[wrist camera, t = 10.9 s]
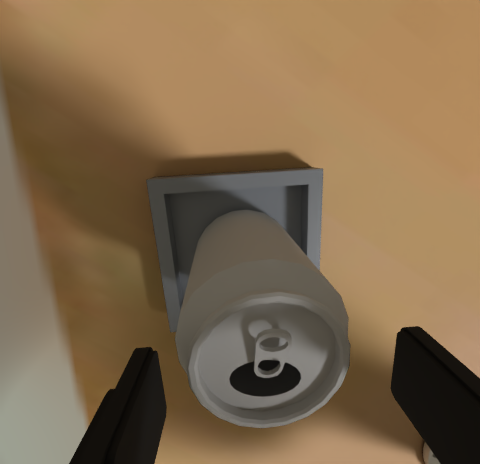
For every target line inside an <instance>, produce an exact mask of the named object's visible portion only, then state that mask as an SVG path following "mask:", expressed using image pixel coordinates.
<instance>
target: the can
mask: <svg viewBox="0 0 480 464" xmlns="http://www.w3.org/2000/svg"><path fill="white" fill-rule="evenodd" d="M175 342H176V347H177V353H178V358H179V362H180V364H181V365H182V367H183V369H184V370H185V372H186V373H187V375H188V381H189V386H190V388H191V390H192V391H193V393H194V394H195V396H196V398H197V399H198V401H199V402H200V404H201V405H202V406H204V407H205V408H206V409H207V410H209V411H210V412H211V413H213V414H214V415H215V416H217V417H218V418H220V419H223V420H225V421H228V422H231V423H233V424H236V425H239V426H245V427H255V428H268V427H275V426H283V425H287V424H290V423H292V422H295V421H298V420H300V419H303V418H305V417H308V416H309V415H310V414H312V413H313V412H315V411H316V410H318V409H319V408H321V407H322V406H323V405H325V404H326V403H327V402H328V401H329V400H330V398H331V397H332V396H333V395H334V394H335V392H336V391H337V390H338V389H339V388H340V386H341V385H342V382H343V380H344V378H345V375H346V373H347V370H348V368H349V363H350V343H349V340H348V315H347V312H346V309H345V307H344V304H343V301H342V298H341V296H340V294H339V293H338V292H337V291H336V290H335V289H334V287H333V286H332V285H331V284H330V283H329V282H328V280H327V279H326V278H325V277H324V276H323V274H322V273H321V272H320V271H319V270H318V269H317V267H316V266H315V265H314V264H313V263H312V262H311V260H310V259H309V258H308V257H307V256H306V254H305V253H304V252H303V251H302V250H301V249H300V247H299V246H298V245H297V244H296V243H295V242H294V240H293V239H292V238H291V237H290V236H289V234H288V233H287V232H286V231H285V230H284V229H283V227H282V226H281V225H280V224H279V223H278V222H277V220H275V219H273V218H271V217H270V216H268V215H266V214H265V213H262V212H257V211H253V210H238V211H231V212H229V213H227V214H224V215H222V216H220V217H217V218H216V219H215V220H214V221H213V222H212V223H211V224H209V225H208V226H207V227H206V228H205V230H204V232H203V233H202V235H201V237H200V238H199V240H198V243H197V247H196V251H195V255H194V259H193V263H192V267H191V271H190V275H189V279H188V283H187V287H186V291H185V295H184V299H183V303H182V307H181V311H180V315H179V321H178V326H177V331H176V336H175Z"/></svg>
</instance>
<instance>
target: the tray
mask: <svg viewBox="0 0 480 464" xmlns="http://www.w3.org/2000/svg"><path fill="white" fill-rule="evenodd" d="M146 182H147V188H148V194H149V200H150V207H151V213H152V219H153V226H154V232H155V238H156V245H157V251H158V257H159V264H160V270H161V276H162V283H163V289H164V295H165V301H166V308H167V314H168V320H169V327H170V332H176V331H177V326H178V321H179V315H180V311H181V307H182V303H183V299H184V295H185V291H186V287H187V283H188V279H189V275H190V271H191V267H192V263H193V259H194V255H195V251H196V247H197V243H198V240H199V238H200V237H201V235H202V233H203V232H204V230H205V228H206V227H207V226H208V225H209V224H211V223H212V222H213V221H214V220H215V219H216V218H217V217H220V216H222V215H224V214H227V213H229V212H231V211H238V210H253V211H257V212H262V213H265V214H266V215H268V216H270V217H271V218H273V219H275V220H277V222H278V223H279V224H280V225H281V226H282V227H283V229H284V230H285V231H286V232H287V233H288V234H289V236H290V237H291V238H292V239H293V240H294V242H295V243H296V244H297V245H298V246H299V247H300V249H301V250H302V251H303V252H304V253H305V254H306V256H307V257H308V258H309V259H310V260H311V262H312V263H313V264H314V265H315V266H316V267H317V269H318V270H319V271H320V244H321V216H322V189H323V169H321V168H314V167H308V168H292V169H276V170H260V171H243V172H227V173H211V174H195V175H179V176H163V177H153V178H150V179H147V180H146Z"/></svg>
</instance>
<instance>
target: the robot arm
mask: <svg viewBox="0 0 480 464" xmlns="http://www.w3.org/2000/svg"><path fill="white" fill-rule="evenodd" d="M391 391H392V394H393V396H394V398H395V400H396V401H397V402H398V404H399V405H400V407H401V408H402V410H403V411H404V412H405V414H406V415H407V417H408V418H409V420H410V421H411V422H412V424H413V425H414V427H415V428H416V429H417V431H418V432H419V434H420V435H421V437H422V438H423V439H424V441H425V443H424V447H423V458H424V462H425V464H480V378H479V377H477V376H476V375H475V374H474V373H473V372H472V371H471V370H469V369H468V368H467V367H466V366H465V365H464V364H462V363H461V362H460V361H459V360H458V359H457V358H455V357H454V356H453V355H452V354H451V353H450V352H449V351H447V350H446V349H445V348H444V347H443V346H442V345H440V344H439V343H438V342H437V341H436V340H435V339H433V338H432V337H431V336H430V335H429V334H428V333H427V332H425V331H424V330H423V329H422V328H420V327H418V326H416V327H404V328H402V329H401V331H400V332H398V333H397V339H396V347H395V356H394V364H393V373H392V381H391ZM165 418H166V401H165V395H164V389H163V383H162V377H161V371H160V365H159V359H158V353H157V351H153V349H152V348H151V347H146V348H136V349H135V350H134V352H133V354H132V356H131V358H130V360H129V362H128V364H127V366H126V368H125V370H124V372H123V374H122V376H121V378H120V380H119V382H118V384H117V386H116V388H115V389H110V390H109V391H108V392H107V393H106V395H105V397H104V399H103V400H102V402H101V404H100V406H99V408H98V410H97V412H96V414H95V416H94V418H93V419H92V421H91V423H90V425H89V427H88V429H87V431H86V433H85V435H84V437H83V438H82V441H81V442H80V444H79V446H78V448H77V450H76V452H75V454H74V456H73V458H72V459H71V461H70V463H69V464H154V463H155V459H156V455H157V451H158V447H159V442H160V438H161V434H162V430H163V426H164V422H165Z"/></svg>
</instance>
